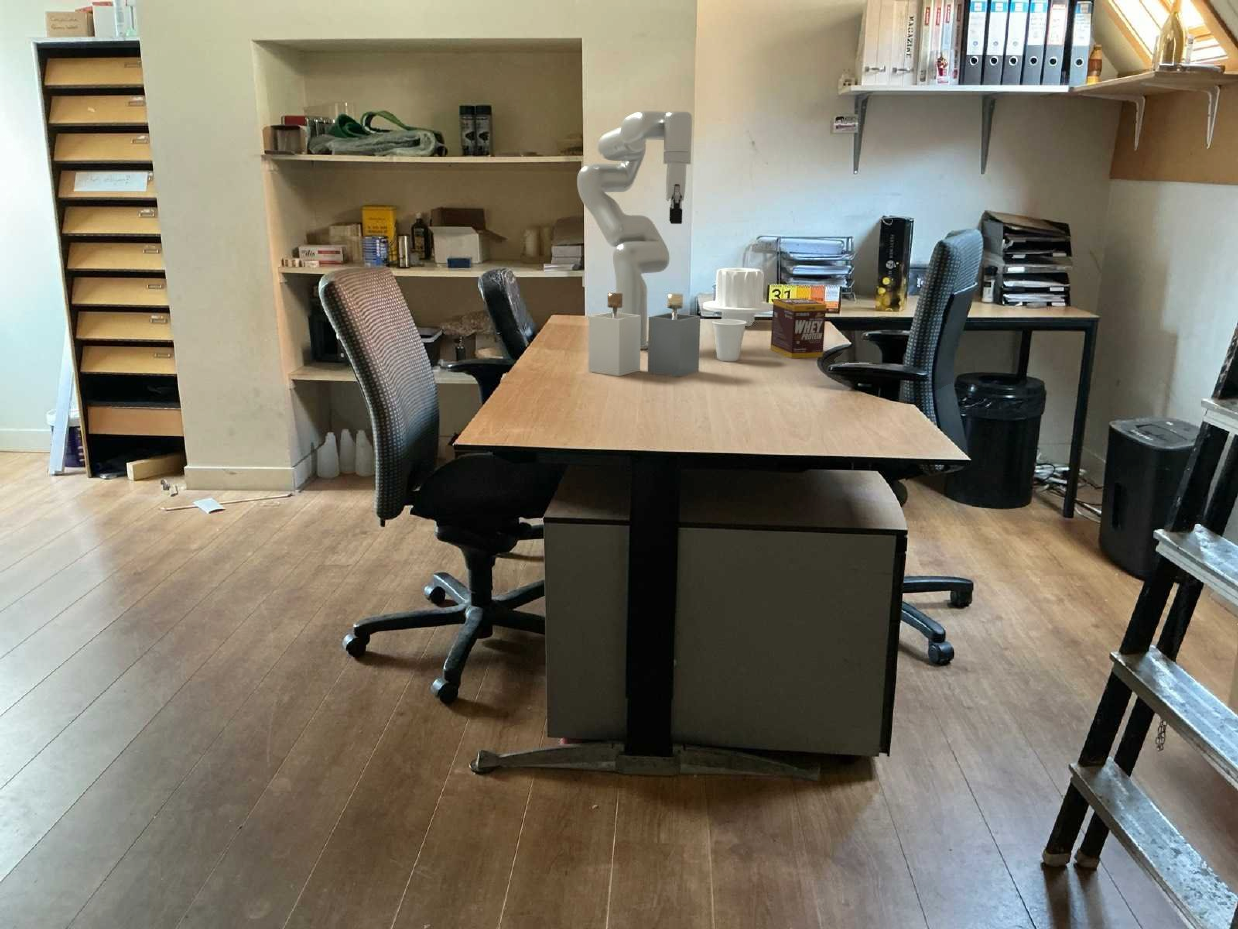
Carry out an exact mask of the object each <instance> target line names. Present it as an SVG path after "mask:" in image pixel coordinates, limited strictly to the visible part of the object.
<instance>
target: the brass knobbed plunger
mask: <svg viewBox="0 0 1238 929" xmlns="http://www.w3.org/2000/svg"><path fill="white" fill-rule="evenodd" d="M683 298H684V295H683V293H667V309H672V313H673V315H672V319H675V320H677V314H678V310H679V309H680V310H681V309H683V302H684V300H683Z"/></svg>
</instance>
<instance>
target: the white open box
mask: <svg viewBox="0 0 1238 929" xmlns="http://www.w3.org/2000/svg"><path fill="white" fill-rule="evenodd" d="M640 339H641V315H633V314H624V313H617V319H613V311H608V312H605V313H598V314H593V315H589V316H588V372H589V373H595V374H601V375H609V376H614V377H620V376H624V375H628V374H631V373H636V372H639V371H641V349H640Z"/></svg>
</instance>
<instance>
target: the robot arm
mask: <svg viewBox="0 0 1238 929" xmlns="http://www.w3.org/2000/svg"><path fill="white" fill-rule="evenodd" d="M692 127H693V117H692V114H691V113H690V112H688V111H683V110H682V111H680V110H679V111H678V110H677V111H676V110H675V111H661V110H657V111H655V110H642V111H638V112H634V113H632V114H630V115H628V116H626V117H625V118H624V119H623V121H622V123H621V126H619V127H617V128H614V129H612V130H610V131H608V132H606V133H604V134H603V135H602V136H601V137H600V138H599V140H598V143H597V151H598V153H599V155H600V156H601V157H602V158H603V159H605V160H608V161H610V162H611V161H613V162H620V163H591V164H587V165H585V166H583V167H582V168H581V169H580V170H579V172H578V173H577V179H576V185H577V191H578V195H579V197H580V199H581V200H580V201H582V203H583V205H584V206H585V207H586V209H587V211H588V212H589V213H590V214H591V215H592V216H593V219H594V220H595V222H596V224H597V226H598V228H599V230H600V231H601V234H602V235H603V236H604V239H605V240H606V242H607V244H609V245H610V246H611V247H614V250H613V253H612V261H613V262H612V263H613V268H614V274H615V275H614V276H615V293H622V294H623V307H622V308H617V313H624V314H633V315H641V339H640V350H648V341H647V340H648V338H647V337H648V335H647V331H648V330H647V329H648V286H647V284H646V282H645V280H644V278H643V276H642V275H643V274H653V273H655V274H656V273H661V272H663V271H665V270H666V269H667V268H668V266H669V265H670V252H669V249H668V247H667V244H666V242H665V240H664V239H663V237H662V235H661V234H660V232H659V230H658V228H657V227H656V225H655V224H654V222H653V221H652V219H650V218H649V217H647V216H645V215H639V214H637V215H633V214H632V215H631V214H626V213H624V212H623V210H622V208H621V206H620V205H619V203H618V202H617V200H615V199H614V198H612V196H610V195H609V194H607V193H624V192H628V190H631V188H632V187H633V185H634V183H635V181H636V178H637V176H638V172H639V170H640V168H641V166H642V164H643V160H644V158H645V155H646V150H647V144H646V143H647V140H648V141H649V140H653V141H654V140H657V141H663V165H667V166H666V167H667V168H666V178H665V179H666V181H665V185H666V186H665V200H666V202H670V207H669V219H668V220H669V222H670V224H672V225H681V224H682V223H683V208H682V206H683V204H682V203H683V202H684V200H685V194H686V184H687V183H686V182H687V181H686V180H687V165H692V162H691V160H692V135H693V132H692V131H693V130H692V129H693V128H692Z"/></svg>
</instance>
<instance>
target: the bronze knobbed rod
mask: <svg viewBox="0 0 1238 929" xmlns="http://www.w3.org/2000/svg"><path fill="white" fill-rule="evenodd" d="M622 307H623V294H622V293H616V292H609V293H607V308H610V309H612V312H613V319H617V308H622Z"/></svg>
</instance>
